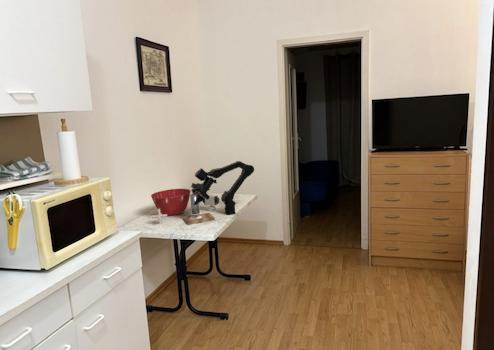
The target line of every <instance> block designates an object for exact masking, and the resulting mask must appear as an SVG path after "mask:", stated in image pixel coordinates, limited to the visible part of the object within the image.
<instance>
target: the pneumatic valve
mask: <svg viewBox="0 0 494 350" xmlns="http://www.w3.org/2000/svg"><path fill="white" fill-rule="evenodd" d="M208 195H209V197H210V198H209V199H208V200H207V199H206V198H205V199H206V200H204V201H202V204H204V206H208V207H207V211H208V212H214V211H216V206H217V205H218V204H220V200H221V199H220V197H218V195H211V194H208Z"/></svg>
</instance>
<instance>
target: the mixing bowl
mask: <svg viewBox="0 0 494 350" xmlns="http://www.w3.org/2000/svg"><path fill="white" fill-rule="evenodd" d="M191 192H192V191H191V189H189V188H173V189H172V188H171V189H164V190H160V191H157V192H154V193H152V194H151V195H150V197H151V199H152V201H153V204H154V205H155V207H156V209H160V213H161V214H162V215H163V214H167V217H171V216H178V215H180V214H183V213H184V211H186V209H187V207H188V204H189V201H190V194H191Z"/></svg>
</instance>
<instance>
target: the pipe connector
mask: <svg viewBox="0 0 494 350" xmlns="http://www.w3.org/2000/svg"><path fill="white" fill-rule="evenodd" d="M156 209H157V208H156ZM167 217H168V216H167V214H162V213H160V209H157V214H156V215H154V214H153V215H151V219H157V221H158V224H159V225H162V218H167Z"/></svg>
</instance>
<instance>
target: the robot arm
mask: <svg viewBox="0 0 494 350" xmlns="http://www.w3.org/2000/svg"><path fill="white" fill-rule="evenodd" d="M238 168H239V169H241V173H240V174H239V176H238V178H237V179H236V180H235V182H234V183H233V184H232V186H231V187H230V188H229V190H225V191H224V192H223V193H222V194H221V199H220V200H221V202H222V203H223V204H224V209H223V210H224V214H225V215H227V216H229V215H236V214H237V212H236V201H234V198H235V195H236V193H237V191H238V190H239V189H240V187H241V186H242V184H243V183H244V182H245V180H246V179H247V178H249V177H250V176H251V175H252V174H253V173H254V172H255V167H254V166H253V165H252V164H246V163H245V162H242V161H240V160H237V161H234V162H232V163H230V164H227V165H225V166H221V167H219V168H218V167H217V168H213V169H211V170H209V171H205V170H204V169H203V168H200V169H198V170H197V171H196V172H195V174H194V177H195V178H196V179H198V180H199V181H200V182H202V181H203V182H202V183H199V182H197V183H194V182H192V183H191V185H190V188H192V189H190V191H191V192H192V193H191V194H197V195H198V197H197V199H196V201H195V203H194V205H197V204H198V203H199V204H200V203H203V201H204V200H206V199H207V200H208V199H209V198H210V197H209V195H210V194H208V191H210V190H211V189H210V188H211V187H212V186H213V184H217V183H218V182H217V179H218V178H220V177H222V176H223V175H224V174H226V173H228V172H231V171H233V170H235V169H238ZM205 198H206V199H205Z"/></svg>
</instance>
